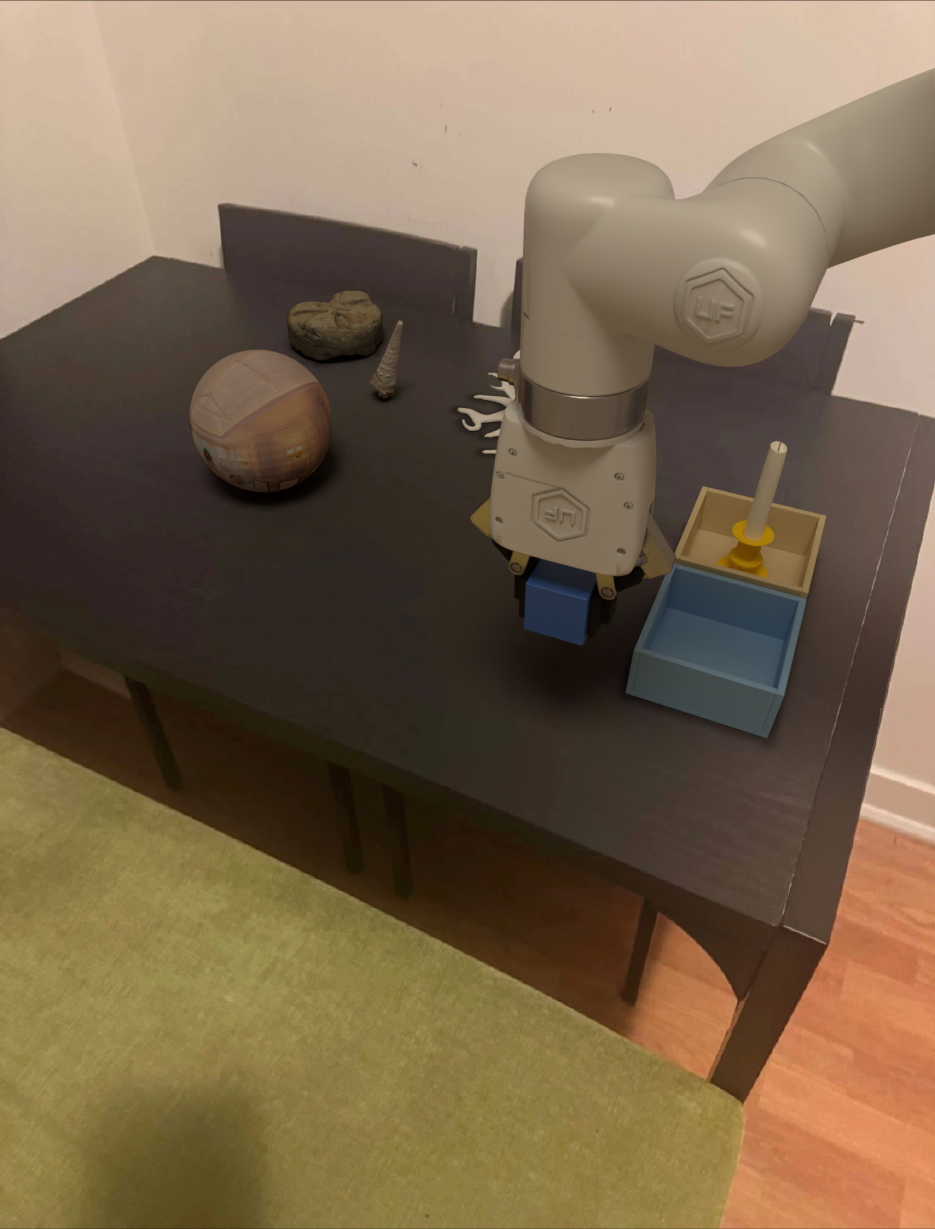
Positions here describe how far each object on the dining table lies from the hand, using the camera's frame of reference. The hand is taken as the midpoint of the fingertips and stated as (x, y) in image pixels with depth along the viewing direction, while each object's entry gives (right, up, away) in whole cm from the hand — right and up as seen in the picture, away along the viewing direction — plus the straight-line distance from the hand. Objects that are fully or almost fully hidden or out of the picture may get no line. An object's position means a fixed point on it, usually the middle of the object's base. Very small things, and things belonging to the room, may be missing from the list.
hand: (563, 613), depth 63 cm
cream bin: (+20, +4, +22) cm, 30 cm away
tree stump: (+2, +24, +43) cm, 50 cm away
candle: (+20, +4, +22) cm, 30 cm away
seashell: (-17, +28, +47) cm, 57 cm away
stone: (-25, +39, +59) cm, 75 cm away
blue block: (0, 0, 0) cm, 0 cm away
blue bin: (+15, -5, +14) cm, 21 cm away
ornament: (-29, +15, +35) cm, 48 cm away
